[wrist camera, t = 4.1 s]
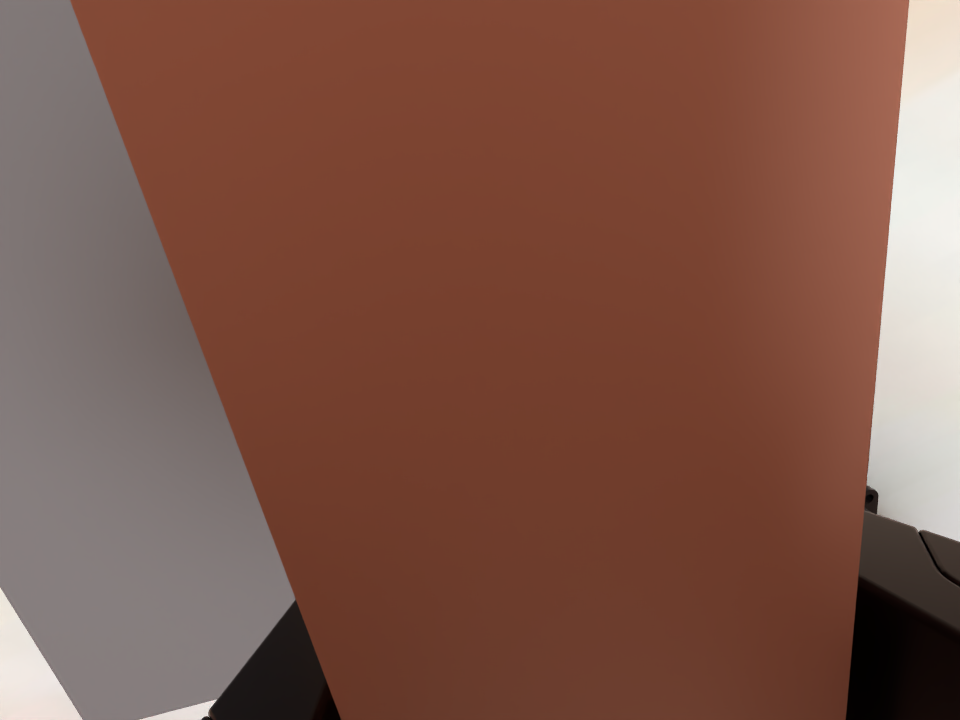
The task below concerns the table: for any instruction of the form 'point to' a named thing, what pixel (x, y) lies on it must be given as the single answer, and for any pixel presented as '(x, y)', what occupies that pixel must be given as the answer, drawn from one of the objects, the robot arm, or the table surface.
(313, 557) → the rail
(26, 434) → the slate mat
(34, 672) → the table surface
